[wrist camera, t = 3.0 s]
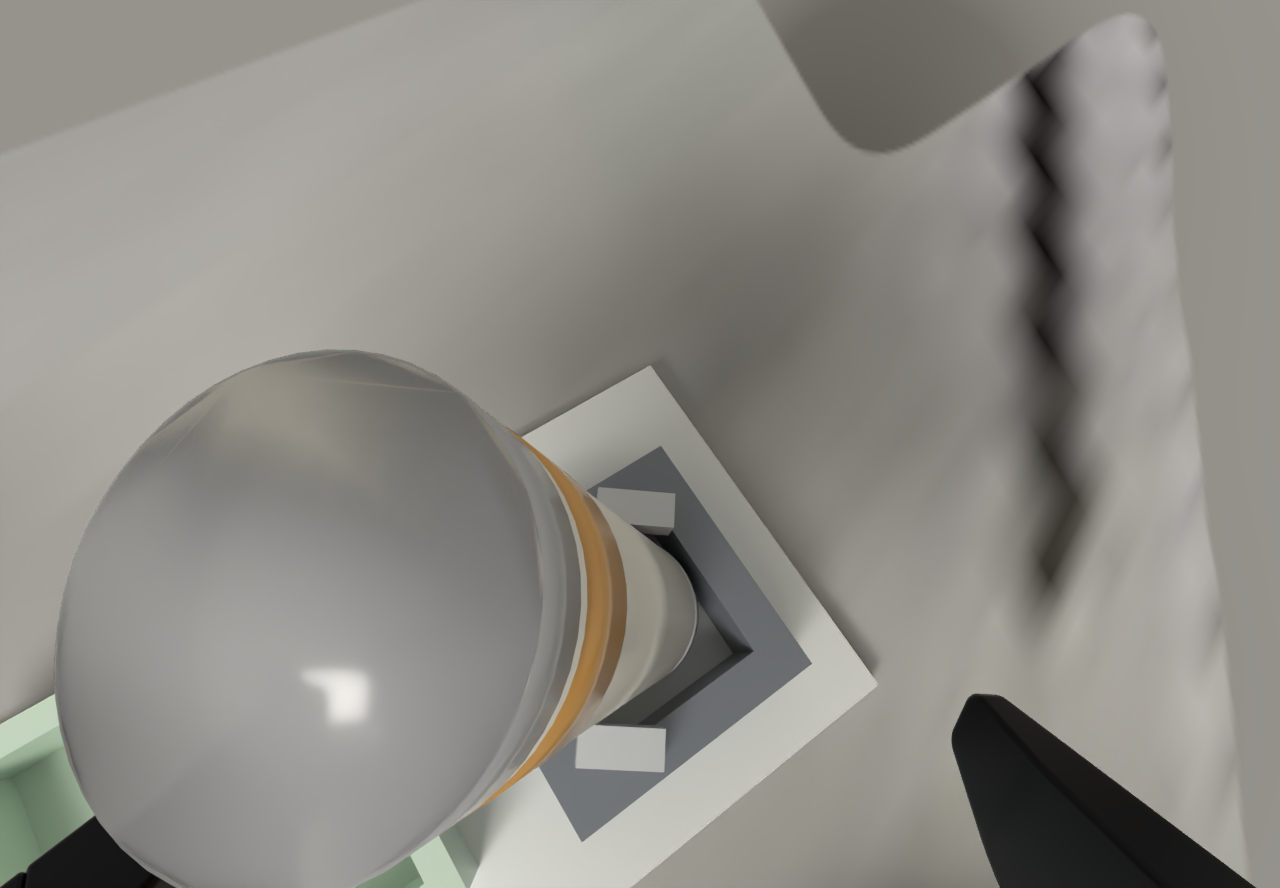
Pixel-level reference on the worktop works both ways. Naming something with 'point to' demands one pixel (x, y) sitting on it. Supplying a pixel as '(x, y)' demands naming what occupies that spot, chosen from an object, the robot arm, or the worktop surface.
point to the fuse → (341, 624)
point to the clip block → (760, 665)
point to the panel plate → (737, 759)
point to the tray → (54, 807)
